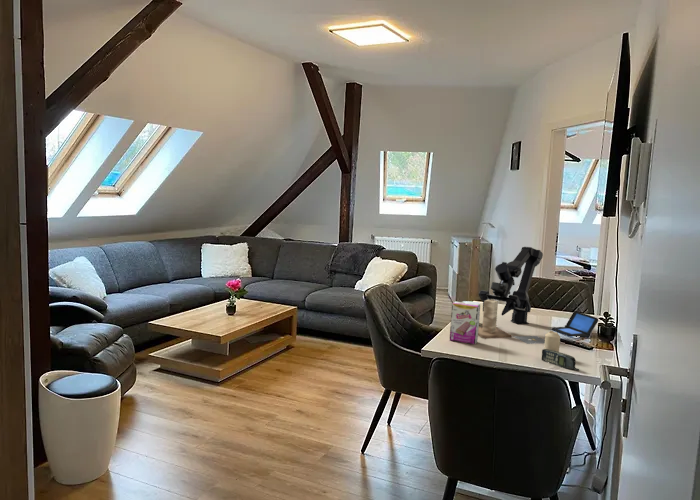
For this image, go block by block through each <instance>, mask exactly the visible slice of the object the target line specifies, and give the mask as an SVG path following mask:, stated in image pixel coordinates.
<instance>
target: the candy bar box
mask: <svg viewBox="0 0 700 500" xmlns="http://www.w3.org/2000/svg"><path fill="white" fill-rule="evenodd" d="M479 314H480V315H481V304H480V305H478V304H470V303H463V301H456V300H455V301H453V302H452V304H451V314H450V315H451V317H450V327H449V328H450V330H449V341H453V342H459V343H464V344H470V345H476V344H477V343H478V339H479V338H478V337H479V336H478V327H480V326H479V325H480V319H479Z"/></svg>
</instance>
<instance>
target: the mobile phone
mask: <svg viewBox="0 0 700 500" xmlns="http://www.w3.org/2000/svg"><path fill="white" fill-rule="evenodd" d="M541 361H543V362H546V363H548V362H549V364H552V365H554V366H557V367H559V368H560V367H561V368H562V367H563V369H568V370H569V369H570V370H574V369H575V371H577V370H578V371H580V368H576V358H575V357H574V356H572V355H569V354H567V353H565V352H564V353H563V352H560V351H559V352H557V351H553V350H549V349H544V348H543V349H541Z"/></svg>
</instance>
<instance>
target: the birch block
mask: <svg viewBox="0 0 700 500" xmlns="http://www.w3.org/2000/svg"><path fill="white" fill-rule="evenodd" d="M498 304H499V300H494V299H491V300H485V301H484V312H483V311H482V312H483V313H482V315H483V316H482V331H484V332H488V333H493V332H496V327H497V319H498V318H497V317H498Z"/></svg>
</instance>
